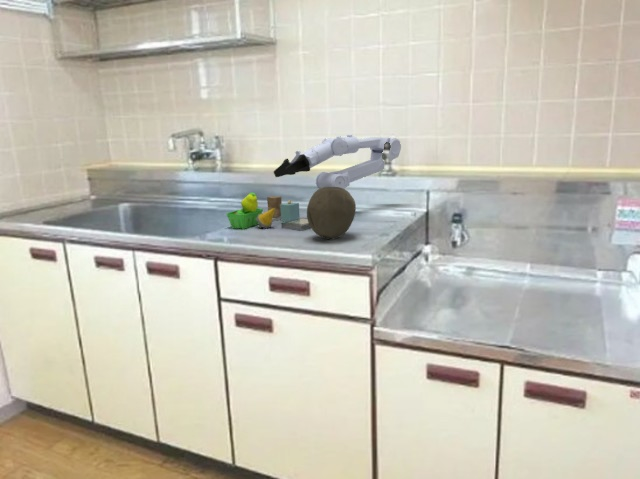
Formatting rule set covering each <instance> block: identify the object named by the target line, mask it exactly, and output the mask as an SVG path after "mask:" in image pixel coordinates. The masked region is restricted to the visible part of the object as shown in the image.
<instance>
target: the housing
mask: <svg viewBox="0 0 640 479" xmlns="http://www.w3.org/2000/svg"><path fill="white" fill-rule="evenodd" d="M280 208H281V219H280V220H281V222H282V223H284V222H288V221H292V220H296V219H300V218H301V217H300V216H301V214H300V203H299V202H294V201H293V202H292V200H287V202H285V203H282V204H280Z"/></svg>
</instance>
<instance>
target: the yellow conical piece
mask: <svg viewBox="0 0 640 479" xmlns="http://www.w3.org/2000/svg"><path fill="white" fill-rule="evenodd" d="M274 211H275V208H273V209H271V210H269V211H268V210H266V211H265V212H262V214H259V215H258V216H257V218H256V219H257V222H258V223H259V224H258V228H259V229H262V228H265V229H269V228H270V227H271V226H272V225H273V224H272V223H273V221H272V218H273V215H274Z"/></svg>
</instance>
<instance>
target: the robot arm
mask: <svg viewBox="0 0 640 479" xmlns="http://www.w3.org/2000/svg"><path fill="white" fill-rule="evenodd" d="M386 142H389V143H390V145H391V148H390V151H389V160H390V161H391V162H392V161H394V160H395V159H397V158H399V155H400V153H401V149H402V143H401V141H400V139H399V138H397V137H393V138H391V137H382V136H380V137H379V136H370V137H365V138H357V137H356V136H354V135H353V134H347V135H346V136H344V137H343V136H342V137H341V136H336V137H335V138H331V137H330V138H324V139H323V140H322V142H321V143H319V144H317V145H315V146H312V147H311V148H309V149H306V150H305V151H303V152H302V151H301V150H296V151H295V152H294V153H295V156H294V157H293V158H292V160H291V161H290V160H289V158H285V159H284V160H283V162H282V163H281V164H280V165H279V166H278V167H277V168H275V169H274V171H273V174H274V176H275V178H280V177H283V176H286V175H289V176H292V175H296V173H300V172H301V173H302V172H310V171H311V168H314V167H315V166H318V165H320V164H322V163H324V162H325V161H328V160H329V159H331V158H332V157H337V156H339V157H342V156H343V155H349V154H355V153H357V152H358V151H359V150H360V149H369V148H370V150H371V151H370V157H369V160H366V161H363V162H361V163H357V164H355V165H352V166H350V167H347V168H344V169H339V170H335V171H329V172H325V171H322V172H319V173H318V174H317V175H316V178H315V184H316V187H317V189H321V188H323V187H340V188H343V189H345V190H346V188H347V187H349V186H350V184H351V183H353V182H355V181H358V180H361V179H363V177H364V178H366V177H369V176H371V175H375V174H377V173H381V172H382V171H384V170H385V169H384V161H383V159H382V154H383V153H382V152H383V150H384V144H385V143H386ZM400 143H401V144H400ZM383 169H384V170H383Z"/></svg>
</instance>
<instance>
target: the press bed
mask: <svg viewBox="0 0 640 479" xmlns="http://www.w3.org/2000/svg"><path fill="white" fill-rule="evenodd" d="M280 224H281V228H282V229H286V230H287V229H288V230H294V231H305V230H309V229H312V228H311V227H310V225H309V223H308V219H307V217H300V219H296V220H292V221H288V222H281V223H280Z"/></svg>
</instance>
